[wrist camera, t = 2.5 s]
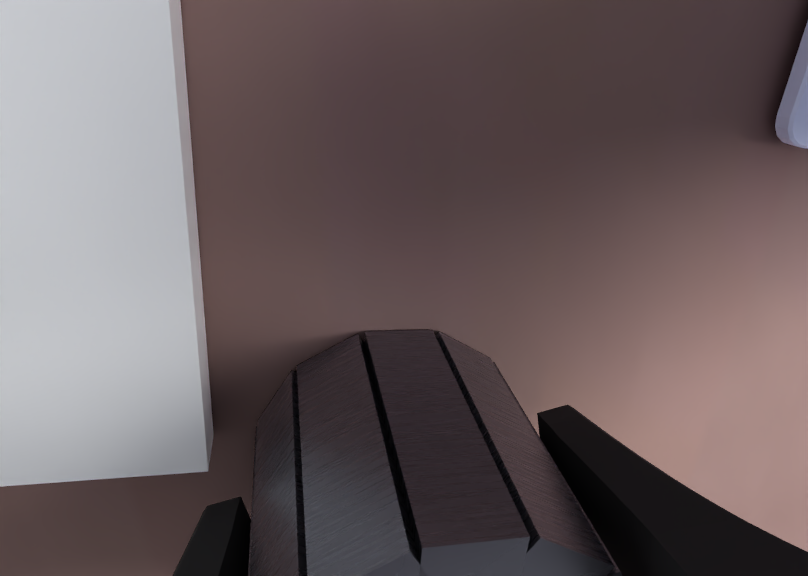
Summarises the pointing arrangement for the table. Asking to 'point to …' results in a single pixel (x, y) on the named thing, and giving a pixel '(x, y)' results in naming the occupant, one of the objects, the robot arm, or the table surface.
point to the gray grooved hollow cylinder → (410, 471)
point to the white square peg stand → (98, 246)
